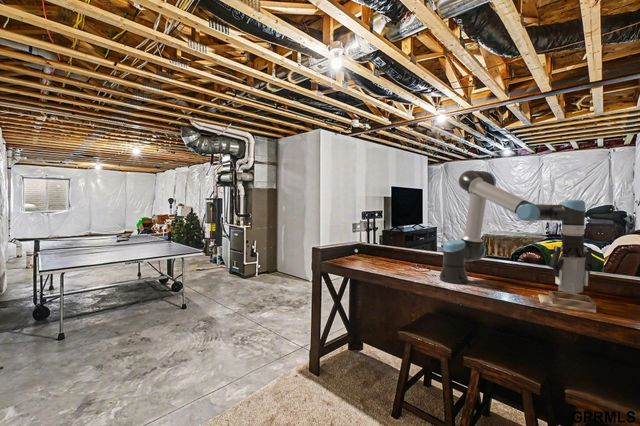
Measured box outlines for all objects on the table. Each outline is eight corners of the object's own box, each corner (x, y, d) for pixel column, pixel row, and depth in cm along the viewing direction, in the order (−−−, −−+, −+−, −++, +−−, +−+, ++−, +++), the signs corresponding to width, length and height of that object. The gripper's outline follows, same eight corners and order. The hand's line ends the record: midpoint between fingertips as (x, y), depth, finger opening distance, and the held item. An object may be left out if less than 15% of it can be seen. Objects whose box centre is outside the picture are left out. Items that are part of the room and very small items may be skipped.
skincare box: (565, 288, 132) (566, 254, 131) (585, 292, 126) (586, 256, 125) (556, 290, 128) (558, 255, 127) (577, 295, 122) (578, 258, 121)
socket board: (541, 304, 128) (541, 296, 127) (538, 296, 138) (538, 289, 138) (595, 312, 118) (596, 304, 118) (588, 303, 129) (588, 295, 129)
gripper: (551, 235, 124) (549, 285, 124) (608, 236, 121) (606, 288, 122) (539, 233, 131) (538, 281, 132) (593, 234, 129) (591, 283, 129)
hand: (571, 284), depth 127 cm, fingers closed on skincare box, 10 cm apart
